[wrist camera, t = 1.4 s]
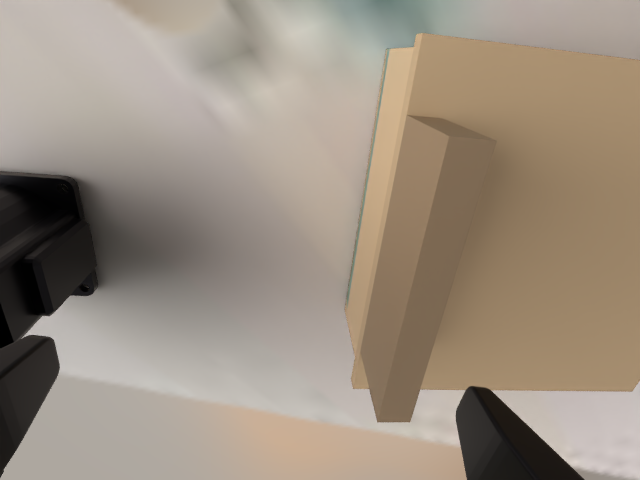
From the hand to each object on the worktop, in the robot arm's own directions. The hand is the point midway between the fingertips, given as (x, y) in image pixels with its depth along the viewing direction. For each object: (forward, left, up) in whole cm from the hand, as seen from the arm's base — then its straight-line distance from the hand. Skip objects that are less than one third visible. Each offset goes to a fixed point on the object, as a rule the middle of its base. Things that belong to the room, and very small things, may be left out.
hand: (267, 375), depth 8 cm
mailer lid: (+11, 0, -7) cm, 13 cm away
